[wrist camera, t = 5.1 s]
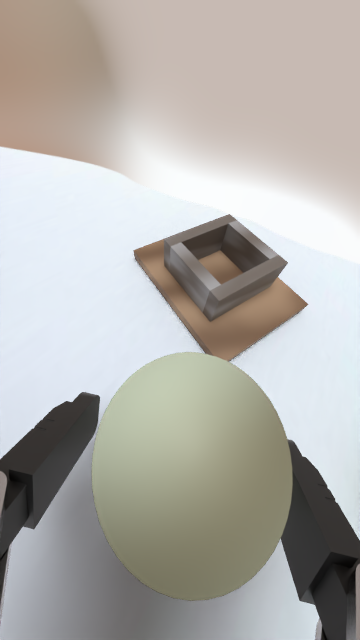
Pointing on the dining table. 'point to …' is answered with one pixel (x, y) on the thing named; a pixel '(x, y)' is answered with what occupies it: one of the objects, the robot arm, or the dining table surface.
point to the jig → (221, 284)
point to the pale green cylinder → (192, 476)
